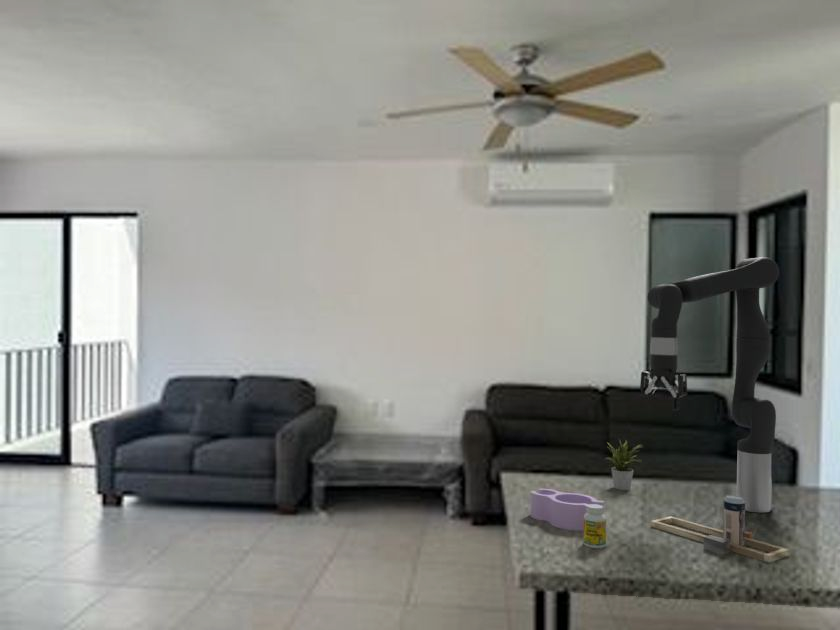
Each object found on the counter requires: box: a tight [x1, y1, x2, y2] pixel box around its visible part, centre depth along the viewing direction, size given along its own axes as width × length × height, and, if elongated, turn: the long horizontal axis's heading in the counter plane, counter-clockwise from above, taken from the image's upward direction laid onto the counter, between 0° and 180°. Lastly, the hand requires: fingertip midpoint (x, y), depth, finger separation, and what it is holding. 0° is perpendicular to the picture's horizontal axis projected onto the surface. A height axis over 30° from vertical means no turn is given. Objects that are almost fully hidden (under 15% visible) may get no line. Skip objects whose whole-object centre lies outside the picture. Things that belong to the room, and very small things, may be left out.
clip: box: [529, 488, 605, 532], centre depth 189 cm, size 20×12×7 cm, turn 44°
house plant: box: [604, 438, 642, 491], centre depth 228 cm, size 14×14×16 cm
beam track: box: [650, 515, 790, 563], centre depth 174 cm, size 15×32×3 cm, turn 35°
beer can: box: [722, 494, 746, 547], centre depth 171 cm, size 5×5×12 cm
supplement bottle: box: [583, 504, 607, 549], centre depth 169 cm, size 5×5×10 cm
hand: (662, 408), depth 200 cm, fingers open, 8 cm apart
